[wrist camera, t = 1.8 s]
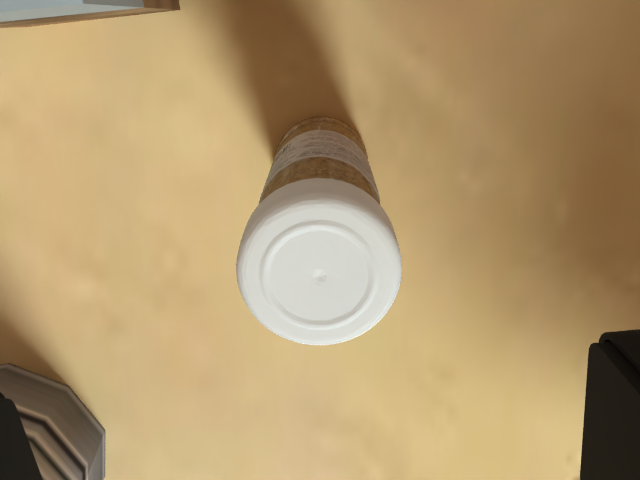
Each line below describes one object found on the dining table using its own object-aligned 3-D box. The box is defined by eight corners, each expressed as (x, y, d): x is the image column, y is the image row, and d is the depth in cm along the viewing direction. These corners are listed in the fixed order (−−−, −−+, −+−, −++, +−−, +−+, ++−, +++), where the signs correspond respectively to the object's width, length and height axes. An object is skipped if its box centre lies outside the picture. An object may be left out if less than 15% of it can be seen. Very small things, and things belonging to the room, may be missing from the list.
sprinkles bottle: (325, 223, 29) (326, 380, 17) (255, 165, 28) (198, 285, 15) (388, 156, 28) (439, 270, 15) (316, 93, 27) (309, 159, 14)
